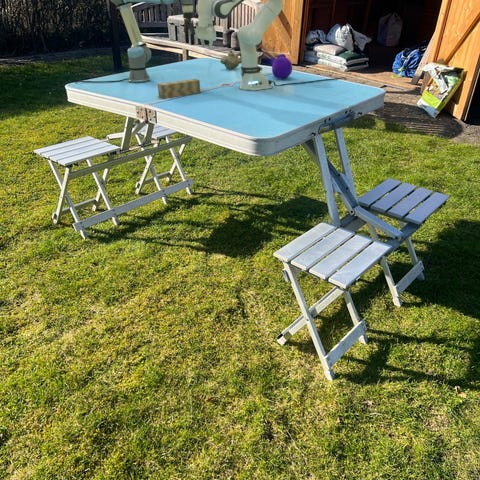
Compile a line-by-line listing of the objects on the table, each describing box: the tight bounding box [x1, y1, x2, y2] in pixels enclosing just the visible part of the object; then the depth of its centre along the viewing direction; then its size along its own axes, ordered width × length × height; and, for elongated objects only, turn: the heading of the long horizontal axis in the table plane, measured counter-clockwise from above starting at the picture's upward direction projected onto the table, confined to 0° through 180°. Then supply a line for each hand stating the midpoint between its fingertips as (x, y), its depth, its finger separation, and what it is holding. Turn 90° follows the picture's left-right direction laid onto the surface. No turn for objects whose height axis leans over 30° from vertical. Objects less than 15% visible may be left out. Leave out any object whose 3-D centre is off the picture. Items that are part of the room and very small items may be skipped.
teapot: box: [220, 49, 241, 71], centre depth 371 cm, size 21×12×15 cm, turn 120°
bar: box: [156, 78, 201, 100], centre depth 295 cm, size 28×6×8 cm, turn 122°
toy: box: [260, 53, 293, 80], centre depth 336 cm, size 16×18×27 cm
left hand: (190, 43), depth 335 cm, fingers open, 13 cm apart
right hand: (207, 47), depth 290 cm, fingers open, 8 cm apart
